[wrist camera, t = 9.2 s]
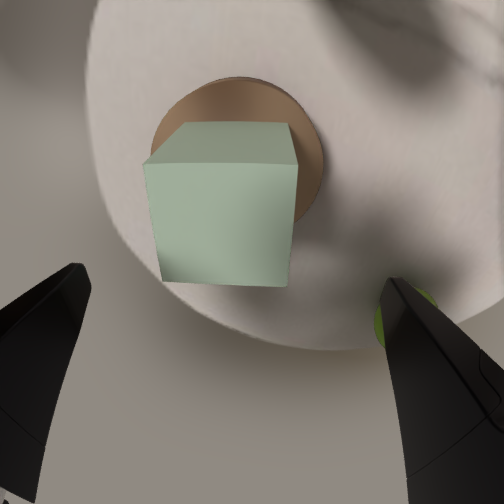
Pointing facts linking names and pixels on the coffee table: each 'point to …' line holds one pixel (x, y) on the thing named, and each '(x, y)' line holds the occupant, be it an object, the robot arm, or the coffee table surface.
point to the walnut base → (253, 110)
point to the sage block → (224, 203)
